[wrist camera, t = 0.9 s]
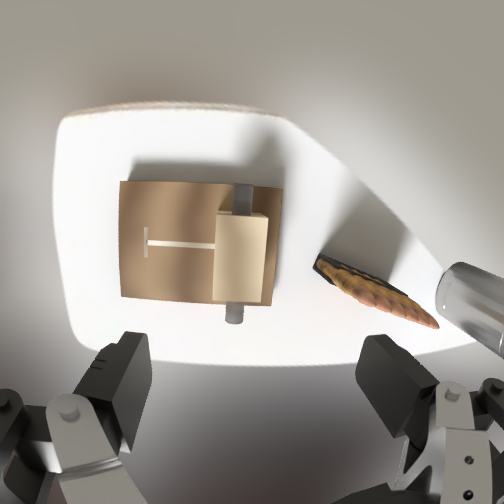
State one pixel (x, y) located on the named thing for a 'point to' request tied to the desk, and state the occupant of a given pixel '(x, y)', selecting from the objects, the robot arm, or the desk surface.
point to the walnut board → (183, 238)
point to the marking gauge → (239, 254)
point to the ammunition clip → (372, 291)
